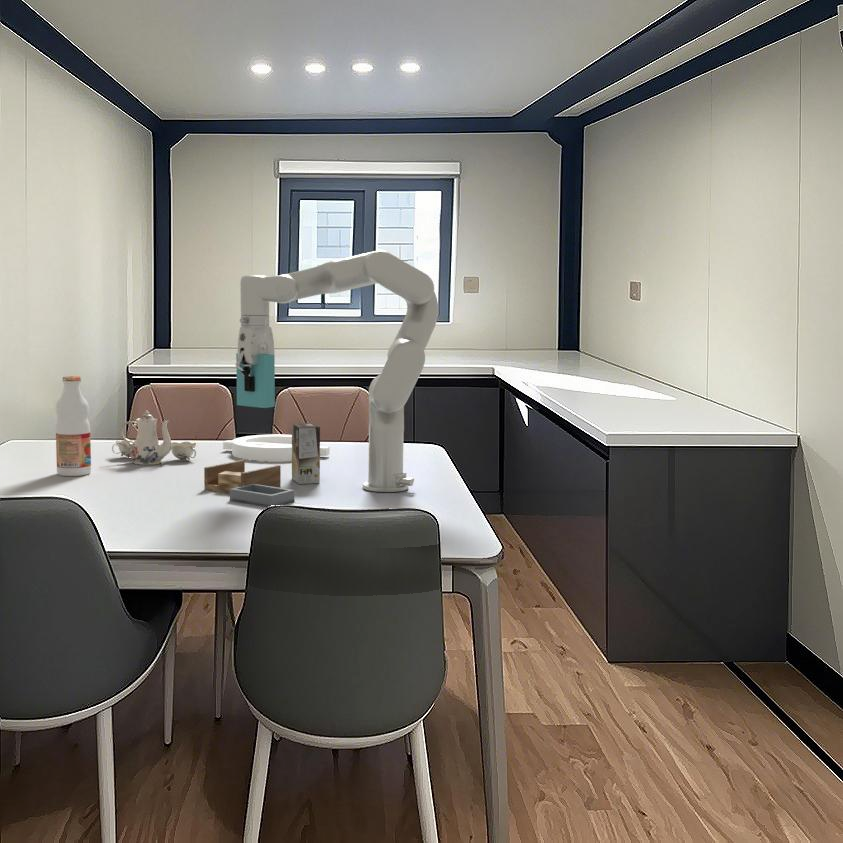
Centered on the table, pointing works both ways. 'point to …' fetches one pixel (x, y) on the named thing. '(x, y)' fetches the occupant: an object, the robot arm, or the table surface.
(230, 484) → the offcut lower
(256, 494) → the charcoal tray
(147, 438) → the chinaware
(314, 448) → the coffee box
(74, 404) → the fruit juice
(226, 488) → the offcut rack
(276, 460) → the white circle with bar
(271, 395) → the teal sheet
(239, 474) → the offcut upper
